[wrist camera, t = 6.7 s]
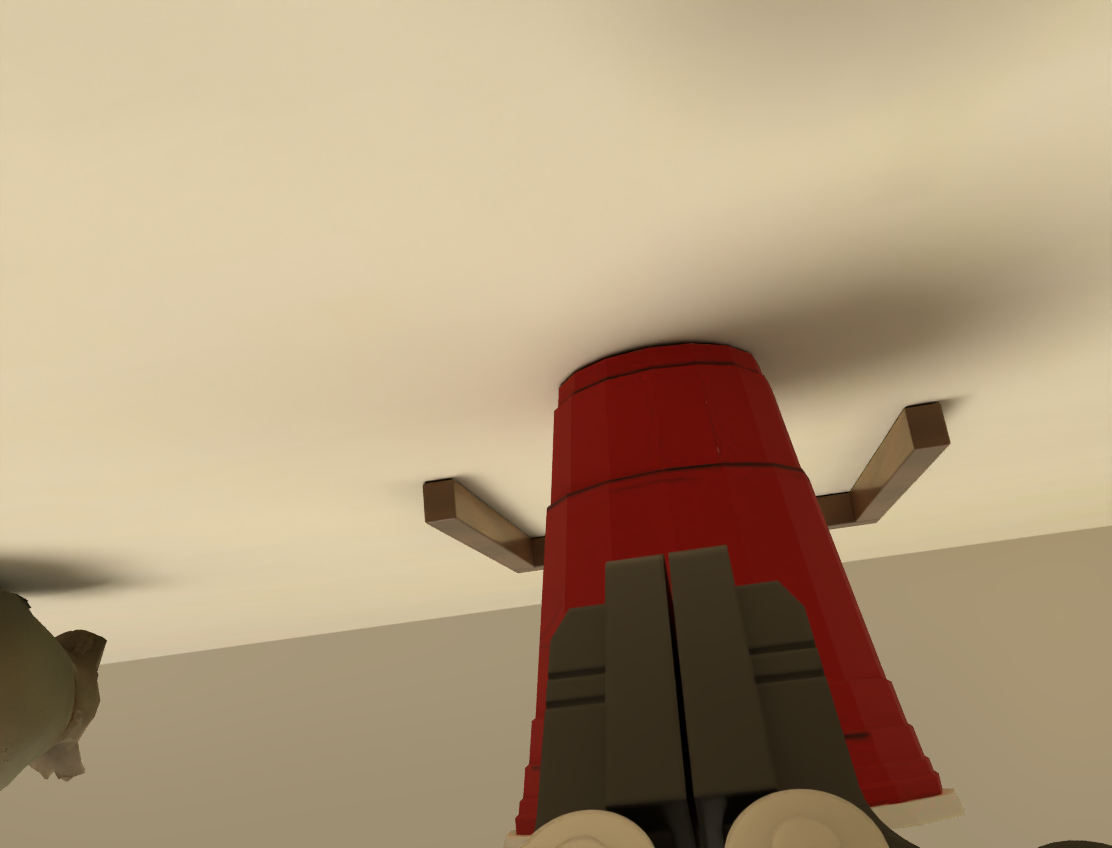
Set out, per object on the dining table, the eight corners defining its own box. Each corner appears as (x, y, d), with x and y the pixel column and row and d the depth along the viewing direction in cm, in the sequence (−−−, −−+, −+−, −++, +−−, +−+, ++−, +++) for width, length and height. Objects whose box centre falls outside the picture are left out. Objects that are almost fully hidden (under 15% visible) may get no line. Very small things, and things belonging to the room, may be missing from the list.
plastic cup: (887, 251, 19) (1045, 877, 15) (836, 404, 29) (923, 799, 25) (401, 344, 20) (438, 925, 17) (515, 457, 31) (553, 834, 27)
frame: (421, 483, 32) (424, 523, 32) (940, 401, 30) (951, 443, 29) (514, 545, 47) (517, 573, 46) (870, 493, 44) (877, 523, 44)
